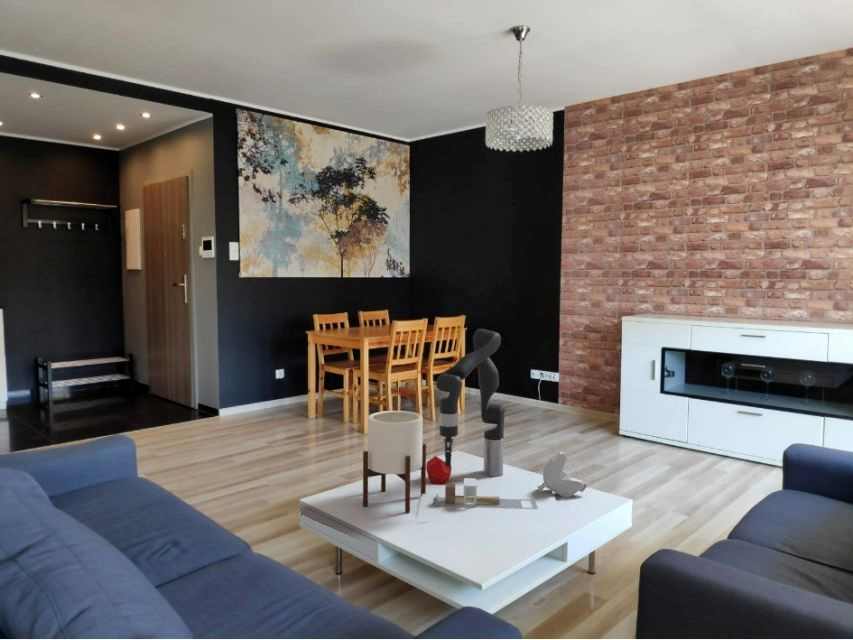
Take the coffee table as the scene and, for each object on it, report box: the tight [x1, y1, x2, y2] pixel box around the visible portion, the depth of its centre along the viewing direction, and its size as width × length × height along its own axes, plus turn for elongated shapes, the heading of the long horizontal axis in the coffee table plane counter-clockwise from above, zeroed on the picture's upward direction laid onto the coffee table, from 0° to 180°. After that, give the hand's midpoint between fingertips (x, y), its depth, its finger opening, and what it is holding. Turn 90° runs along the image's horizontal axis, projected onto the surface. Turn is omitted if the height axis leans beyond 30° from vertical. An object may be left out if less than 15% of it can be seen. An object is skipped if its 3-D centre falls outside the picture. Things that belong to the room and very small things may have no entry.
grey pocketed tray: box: [434, 477, 539, 510], centre depth 244 cm, size 10×41×10 cm, turn 87°
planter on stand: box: [362, 410, 427, 514], centre depth 248 cm, size 22×22×36 cm
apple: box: [426, 455, 452, 486], centre depth 274 cm, size 12×12×15 cm
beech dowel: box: [455, 495, 501, 505], centre depth 244 cm, size 2×18×2 cm, turn 87°
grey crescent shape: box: [537, 451, 587, 497], centre depth 258 cm, size 7×19×20 cm
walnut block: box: [444, 482, 456, 504], centre depth 244 cm, size 4×4×7 cm
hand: (448, 462), depth 244 cm, fingers open, 8 cm apart
